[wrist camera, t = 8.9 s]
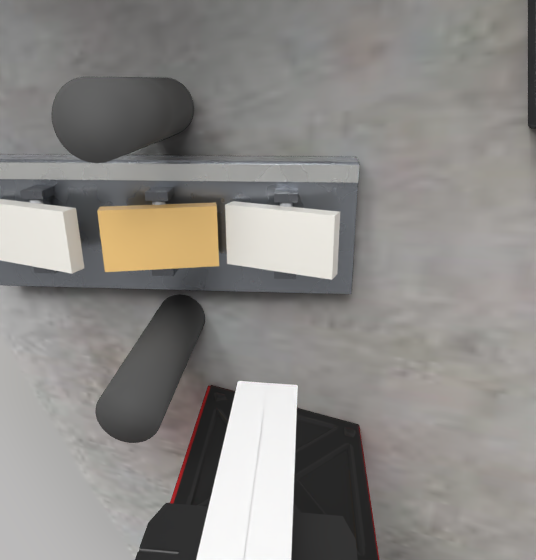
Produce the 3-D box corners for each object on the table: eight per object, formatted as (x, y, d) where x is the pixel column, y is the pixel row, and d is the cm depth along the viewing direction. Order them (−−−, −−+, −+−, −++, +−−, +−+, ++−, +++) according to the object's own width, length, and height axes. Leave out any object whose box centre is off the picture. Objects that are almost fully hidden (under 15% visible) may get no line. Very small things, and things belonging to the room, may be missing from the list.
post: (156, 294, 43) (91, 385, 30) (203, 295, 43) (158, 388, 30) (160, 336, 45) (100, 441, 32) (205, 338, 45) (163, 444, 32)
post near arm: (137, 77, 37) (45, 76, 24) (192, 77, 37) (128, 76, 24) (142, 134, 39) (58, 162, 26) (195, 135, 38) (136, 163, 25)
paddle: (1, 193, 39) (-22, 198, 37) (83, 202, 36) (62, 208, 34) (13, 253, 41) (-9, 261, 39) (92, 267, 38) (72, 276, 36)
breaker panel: (-7, 154, 40) (-44, 163, 36) (356, 156, 38) (361, 166, 34) (16, 274, 44) (-15, 294, 40) (348, 282, 42) (353, 304, 38)
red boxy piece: (182, 464, 50) (107, 692, 31) (205, 377, 46) (134, 578, 28) (339, 505, 50) (356, 755, 32) (373, 423, 47) (416, 651, 28)
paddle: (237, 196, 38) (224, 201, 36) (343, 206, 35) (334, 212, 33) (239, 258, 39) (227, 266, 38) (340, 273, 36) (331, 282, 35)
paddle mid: (101, 201, 36) (96, 207, 34) (215, 197, 37) (216, 203, 36) (109, 265, 38) (105, 274, 36) (217, 260, 39) (219, 268, 37)
